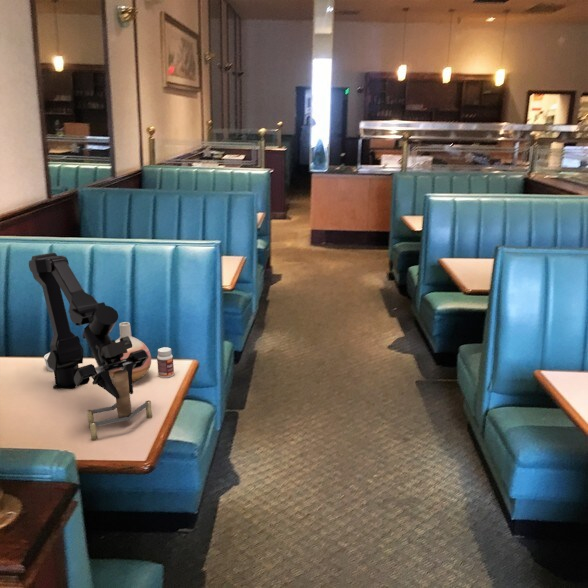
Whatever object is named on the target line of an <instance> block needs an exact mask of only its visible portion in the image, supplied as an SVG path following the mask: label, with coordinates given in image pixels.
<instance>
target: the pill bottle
mask: <svg viewBox="0 0 588 588" xmlns="http://www.w3.org/2000/svg"><path fill="white" fill-rule="evenodd" d="M156 363H157V375H158V377H159V378H162V379H168V378H171V377H173V376H174V375H175V370H174V369H175V368H174V365H175V364H174V356H173V354H172V348H170V347H167V346H166V347H165V346H163V347H161V348H158V349H157V357H156Z"/></svg>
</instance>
